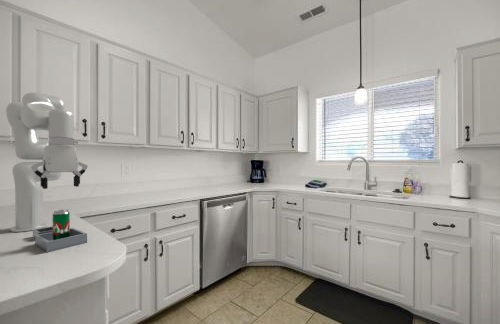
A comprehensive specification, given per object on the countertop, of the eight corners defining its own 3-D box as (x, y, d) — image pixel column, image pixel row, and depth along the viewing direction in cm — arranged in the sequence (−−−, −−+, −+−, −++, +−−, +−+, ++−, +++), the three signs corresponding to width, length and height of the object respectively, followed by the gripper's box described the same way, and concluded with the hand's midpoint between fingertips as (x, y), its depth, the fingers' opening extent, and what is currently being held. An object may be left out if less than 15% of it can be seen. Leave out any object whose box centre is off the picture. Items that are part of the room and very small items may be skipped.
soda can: (67, 238, 91) (67, 208, 91) (71, 241, 88) (71, 210, 88) (51, 242, 87) (51, 210, 87) (54, 245, 84) (54, 212, 84)
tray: (35, 244, 87) (35, 235, 87) (73, 236, 97) (73, 227, 97) (47, 252, 79) (47, 242, 79) (87, 242, 89) (87, 233, 89)
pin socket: (32, 237, 96) (32, 229, 96) (56, 232, 102) (56, 225, 102) (38, 240, 91) (38, 233, 91) (62, 235, 98) (62, 228, 98)
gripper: (83, 144, 97) (83, 185, 97) (28, 141, 83) (27, 188, 83) (91, 144, 93) (91, 186, 93) (34, 140, 79) (33, 190, 79)
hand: (61, 187), depth 88 cm, fingers open, 9 cm apart
